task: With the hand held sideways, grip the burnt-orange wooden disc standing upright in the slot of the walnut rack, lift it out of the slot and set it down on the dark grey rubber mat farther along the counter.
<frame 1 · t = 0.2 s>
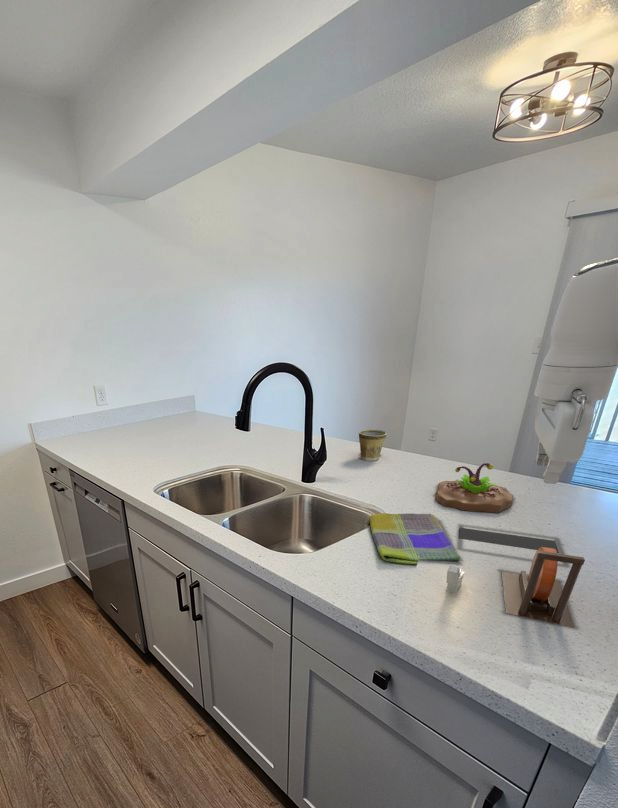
hand: (545, 472, 71), 26 cm above the worktop, tool pointing down, fingers open, 8 cm apart
disc: (534, 596, 83), point 1 cm above the worktop, touching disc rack
lighter: (450, 596, 86), on the worktop
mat: (506, 548, 102), on the worktop
plant: (472, 500, 128), on the worktop
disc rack: (532, 601, 83), on the worktop
ceramic cup: (369, 457, 170), on the worktop
dish towel: (409, 541, 108), on the worktop
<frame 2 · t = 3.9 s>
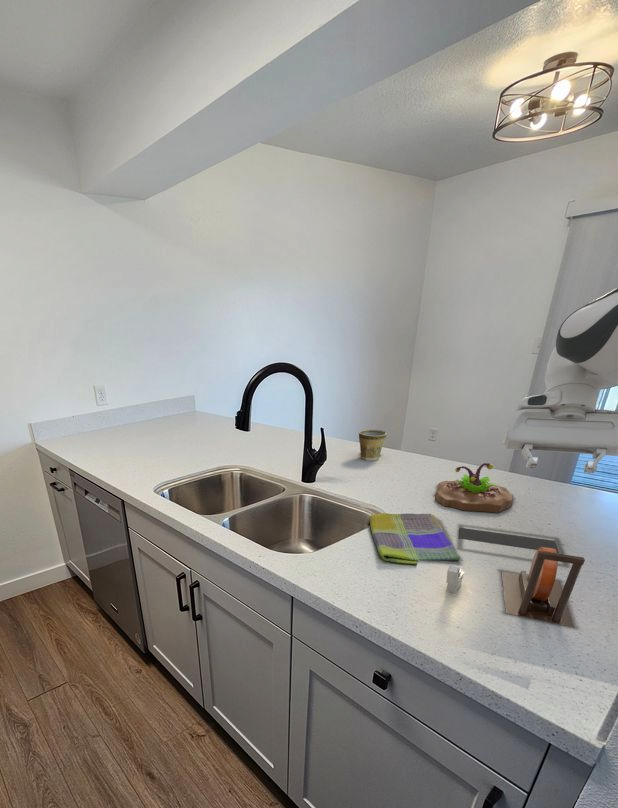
hand: (560, 469, 86), 22 cm above the worktop, tool tilted 45°, fingers open, 8 cm apart
nothing on the worktop moved.
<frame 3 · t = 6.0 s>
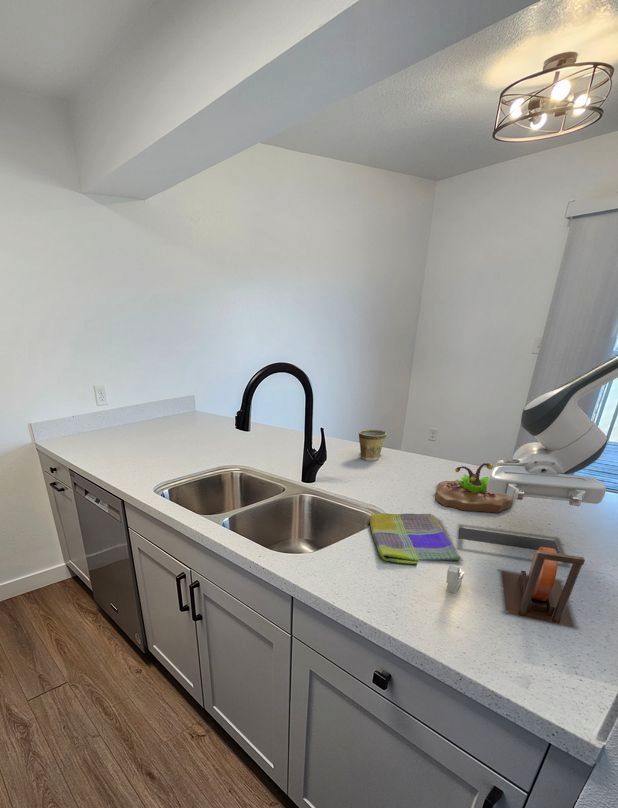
hand: (547, 499, 87), 16 cm above the worktop, tool horizontal, fingers open, 8 cm apart
nothing on the worktop moved.
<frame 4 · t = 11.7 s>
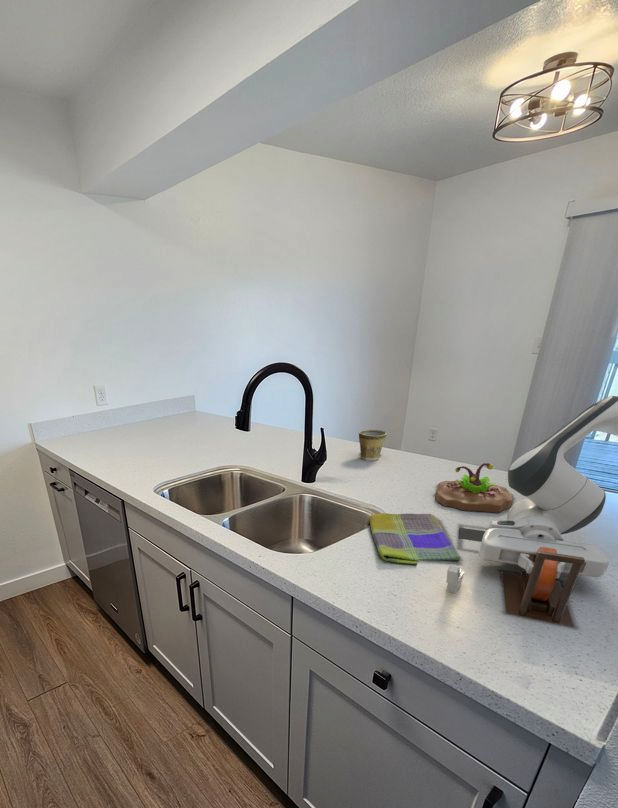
hand: (543, 572, 80), 7 cm above the worktop, tool horizontal, fingers closed on disc, 2 cm apart
disc: (534, 596, 83), point 1 cm above the worktop, touching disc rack, gripper
everything else where it was.
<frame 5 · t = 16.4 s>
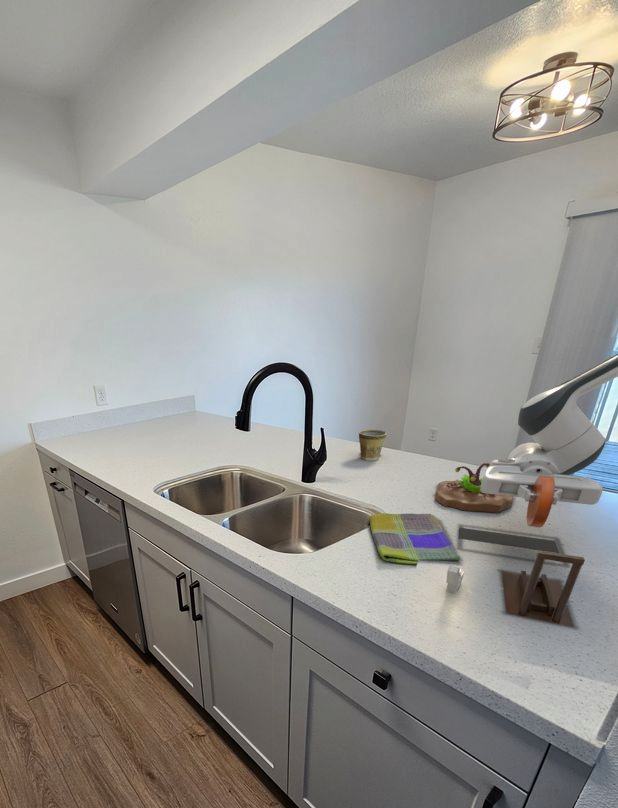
hand: (541, 499, 84), 17 cm above the worktop, tool horizontal, fingers closed on disc
disc: (532, 524, 88), point 11 cm above the worktop, touching gripper
everything else where it was.
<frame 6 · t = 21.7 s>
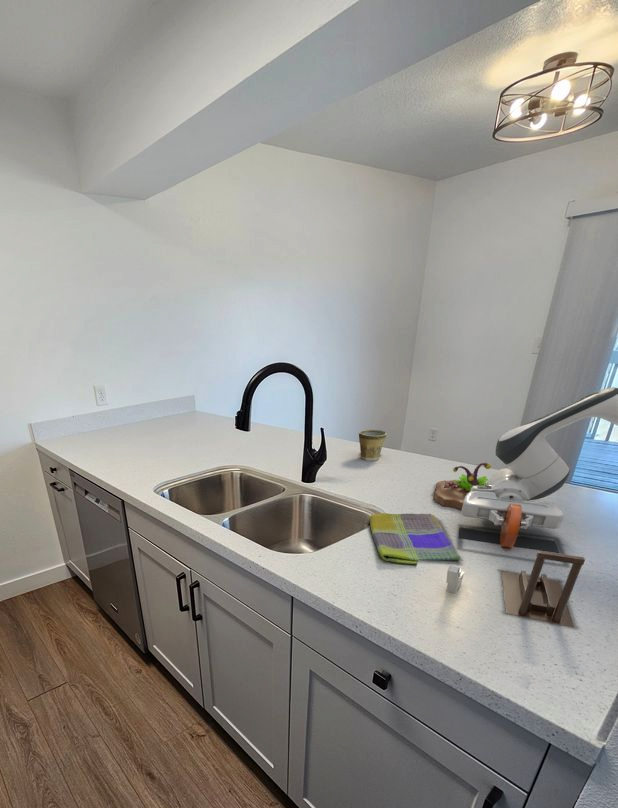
hand: (511, 524, 99), 6 cm above the worktop, tool horizontal, fingers open, 3 cm apart
disc: (504, 544, 102), point 1 cm above the worktop, touching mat
plant: (469, 499, 129), on the worktop, touching arm
everything else where it was.
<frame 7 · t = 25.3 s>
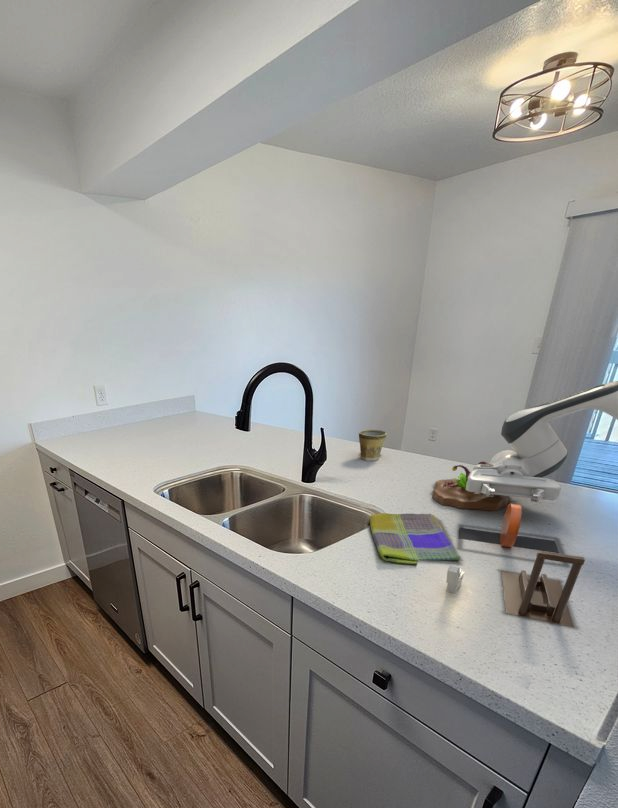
hand: (512, 496, 107), 9 cm above the worktop, tool horizontal, fingers open, 8 cm apart
plant: (469, 498, 130), on the worktop
everything else where it was.
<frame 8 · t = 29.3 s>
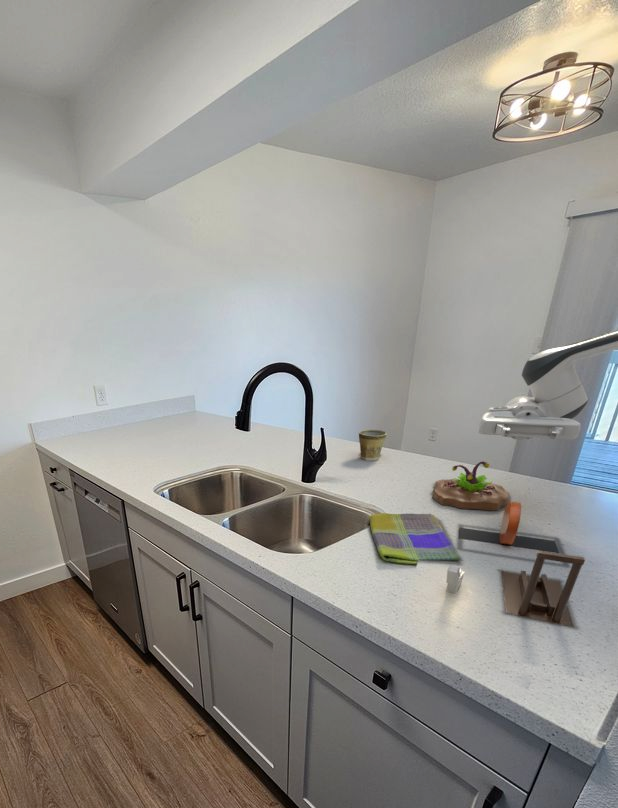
hand: (529, 434, 100), 24 cm above the worktop, tool horizontal, fingers open, 8 cm apart
disc: (505, 544, 102), point 1 cm above the worktop, tilted 17°, touching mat
everything else where it was.
at the end: disc inside the target area on the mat (0.7 cm from its centre), point 0.9 cm above the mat's base; disc touching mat; the gripper is holding nothing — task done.
